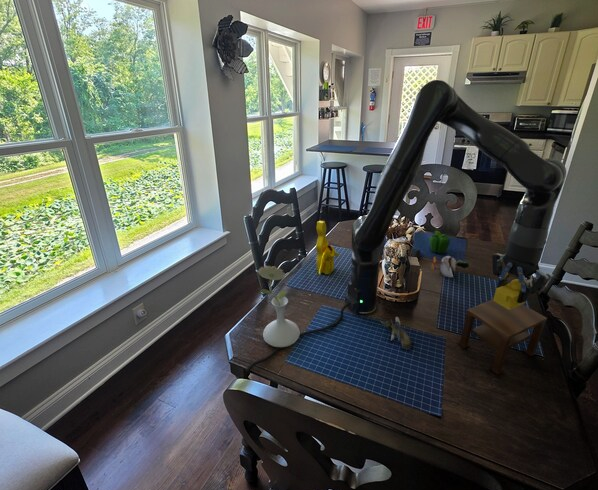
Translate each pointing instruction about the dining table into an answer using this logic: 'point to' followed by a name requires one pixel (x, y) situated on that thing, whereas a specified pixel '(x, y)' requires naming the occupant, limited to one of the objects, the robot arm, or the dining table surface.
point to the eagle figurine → (399, 333)
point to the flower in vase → (278, 314)
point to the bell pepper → (439, 242)
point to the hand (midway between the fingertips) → (511, 296)
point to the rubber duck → (508, 295)
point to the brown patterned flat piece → (414, 252)
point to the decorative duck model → (449, 266)
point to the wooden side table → (503, 328)
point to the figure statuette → (324, 251)
